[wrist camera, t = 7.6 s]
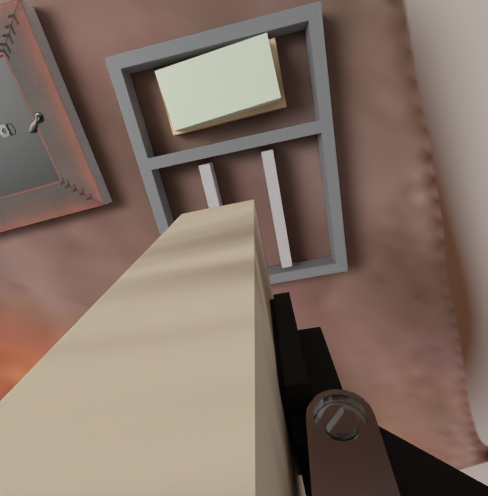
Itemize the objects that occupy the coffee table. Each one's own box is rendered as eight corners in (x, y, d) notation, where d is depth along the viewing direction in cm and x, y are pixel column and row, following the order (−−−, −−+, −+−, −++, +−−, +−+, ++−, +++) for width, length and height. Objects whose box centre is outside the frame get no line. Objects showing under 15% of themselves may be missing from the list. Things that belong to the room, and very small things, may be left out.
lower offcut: (162, 76, 26) (154, 71, 24) (273, 45, 25) (275, 37, 23) (178, 135, 28) (173, 135, 26) (284, 108, 27) (286, 106, 25)
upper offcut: (162, 76, 24) (154, 71, 23) (265, 41, 23) (266, 32, 21) (180, 131, 26) (174, 131, 24) (279, 100, 25) (281, 97, 23)
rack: (115, 63, 25) (104, 57, 23) (315, 12, 24) (320, 0, 22) (184, 290, 32) (180, 299, 31) (342, 262, 31) (348, 270, 29)
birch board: (181, 213, 12) (-773, 1194, 1) (253, 199, 12) (259, 1398, 1) (225, 368, 15) (135, 1106, 3) (285, 359, 14) (398, 1134, 3)
